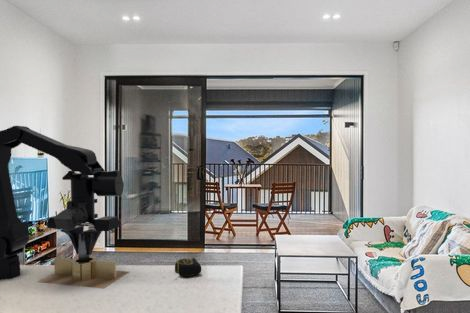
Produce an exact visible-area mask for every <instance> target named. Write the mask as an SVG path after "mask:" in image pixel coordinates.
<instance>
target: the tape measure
mask: <svg viewBox="0 0 470 313" xmlns="http://www.w3.org/2000/svg"><path fill="white" fill-rule="evenodd" d="M174 272H175V273H176V274H178V276H182V277H192V276H195V275H199V274H201V272H202V265H201V264H200V263H199V262H198V260H197V259H196V258H194V257H193V258H180V259H178V260H176V262H175V265H174Z"/></svg>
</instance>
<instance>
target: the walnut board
mask: <svg viewBox="0 0 470 313" xmlns="http://www.w3.org/2000/svg"><path fill="white" fill-rule="evenodd" d="M129 273H130V271H124V270H116V279H115V280H112V279H101V278H93V279H90V280H85V281H74V280H72V276H67V275H55V272H54V273H53V274H50V275H48V276H46V277H43V278H42V279H39V280H37V281H36V283H43V284H54V285H61V286H62V285H63V286H64V285H65V286H73V287H85V288H93V289H95V288H96V289H106V288H107V287H108V286H110V285H112V284H113V283H115V282H117V281H118V280H120V279H122V278H123V277H124V276H126V275H128V274H129Z"/></svg>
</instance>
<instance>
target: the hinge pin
mask: <svg viewBox="0 0 470 313" xmlns="http://www.w3.org/2000/svg"><path fill="white" fill-rule="evenodd" d="M90 256H91V255H87V242H86V235H85V234H84V233H83V232H78V254H77V258H78V262H80V263H83V262H89V261H90Z"/></svg>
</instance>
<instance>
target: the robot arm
mask: <svg viewBox="0 0 470 313" xmlns="http://www.w3.org/2000/svg"><path fill="white" fill-rule="evenodd" d="M21 144H24V145H26V146H28V147H30V148H32V149H35V150H37V151H40V152H42V153H44V154H47V155H49V156H51V157H53V158H55V159H56V160H57V161H59V163H60V164H61V165H63V166H64V167H66V168H67V169H69V170H68V171H67V173H65V175H64V176H62V177H61V179H62V180H63V181H70V200H68V201H67V203H66V209H63V210H62V211H60V212H59V213H57V214H56V215H53V216H50V217H49V218H48V220H46V228H47V229H55V230H59V231H60V232H61V233H64V234H66V235H67V236H68V237H69V240H70V241H71V243H72V245H73V248H74V250H75V253H76V255H78V232H83V233H84V234H85V235H86V242H87V255H90V256H91V255H92V254H93V252H94V248H95V246H96V244H97V241H98V240H99V237H100V236H101V234H102V232H109V231H112V230H114V229H118V228H120V226H121V223H120V219H119V217H118V216H114V215H113V216H111V215H109V216H107V215H105V216H102V217H98V216H99V215H98V213H95V212H96V211H95V204H97V203H98V198H95V195H96V196H97V197H121V196H122V195H123V192H124V187H125V186H124V185H125V183H124V181H123V176H121V175H122V174H121V171H120V170H110V171H108V170H105V169H104V168H103V166H102V165H101V164H100V163H99V161H98V160H97V159H98V158H97V156H96V153H95V152H94V151H93V150H91V149H88V148H84V147H79V146H72V145H68V144H66V143H63V142H61V141H58V140H56V139H54V138H51V137H49V136H47V135H45V134H42V133H40V132H37V131H35V130H32V129H31V128H29V127H28V126H24V125H12V126H10V127H7V129H3V130H2V129H1V130H0V281H1V280H10V279H12V280H13V279H15V278H17V277H20V276H21V261H20V255H19V254H21V253H23V252H24V249H25V247H26V245H27V244H28V243H29V241H30V237H29V236H31V235H32V234H31V232H30V230H29V222H28V220H25V221H22V220H21V219H20V218H19V216H18V213H17V207H16V203H15V202H16V200H15V198H14V192H13V187H12V182H11V176H10V172H9V171H10V170H9V163H10V160H11V157H12V150H13V149H14V148H17V147H19V146H20V145H21ZM77 172H78V173H77ZM85 227H88V228H87V230H85Z"/></svg>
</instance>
